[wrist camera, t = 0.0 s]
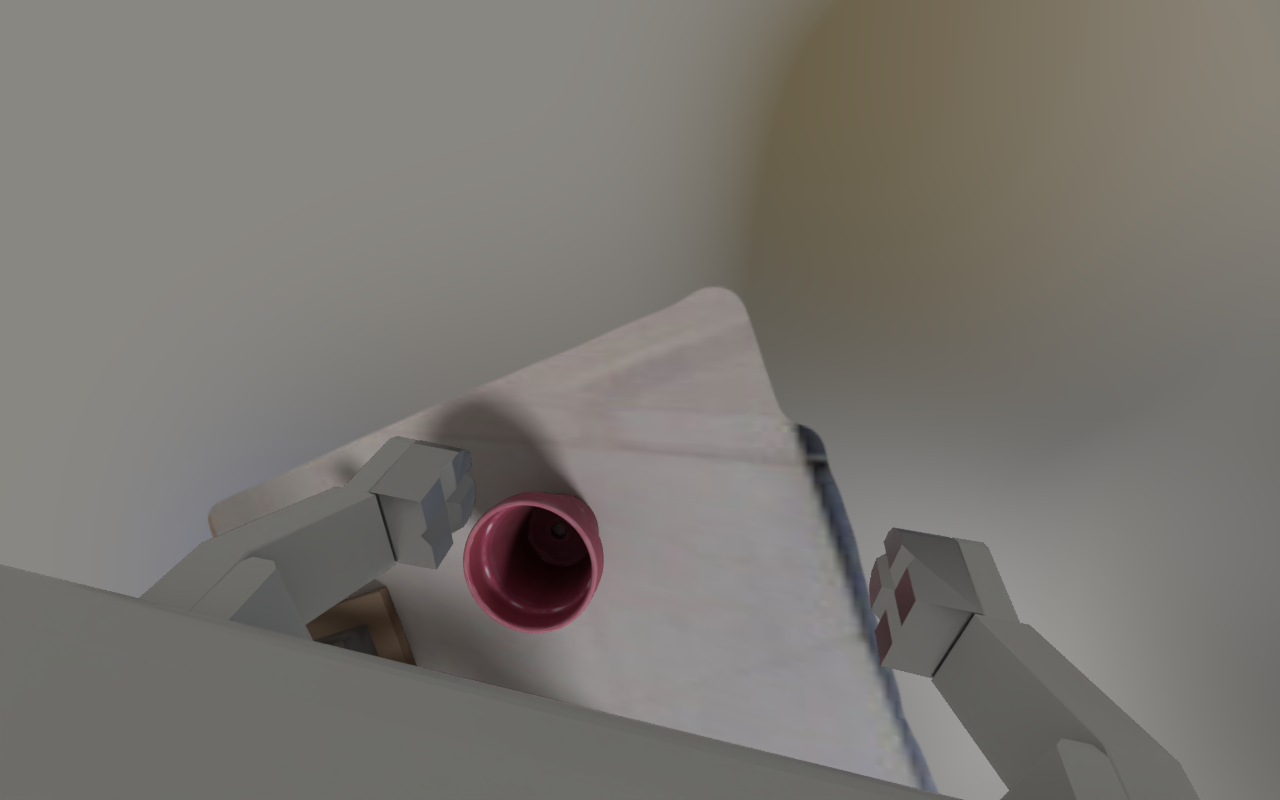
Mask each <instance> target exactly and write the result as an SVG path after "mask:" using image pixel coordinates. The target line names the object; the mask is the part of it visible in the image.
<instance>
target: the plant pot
mask: <svg viewBox="0 0 1280 800" xmlns="http://www.w3.org/2000/svg"><path fill="white" fill-rule="evenodd" d="M555 524H561V525H563V526H564V527H565V529H566V534H565V535H564V536H563V537H557V536H555V535H554V534H553V532H552V527H553V526H554V525H555ZM603 564H604V556H603V548H602V543H601V540H600V537H599V530H598V523H597V520H596V517H595V515H594V513H593V511H592V510H591V509H590V507H589V506H588V505H587V504H586V503H585V502H583V501H582V500H580V499H579V498H576V497H574V496H571V495H567V494H555V495H553V494H550V493H544V492H526V493H521V494H517V495H514V496H512V497H509V498H507V499H506V500H504V501H502V502H500V503H499V504H497V505H496V506H494V507H493V508H492V509H490V510H489V511H488V512H487V513H485V514H484V515H483V516H482V517H481V518H480V519H479V520H478V521H477V523H476V524H475V525H474V527H473V528H472V530H471V532H470V534H469V536H468V539H467V541H466V545H465V549H464V556H463V567H464V574H465V579H466V582H467V585H468V587H469V590H470V592H471V594H472V596H473V597H474V599H475V601H476V602H477V603H478V605H479V606H480V607H481V608H482V609H483V610H484V611H485V612H486V613H487V614H488V615H489V616H490V617H491V618H493V619H494V620H495V621H497V622H499V623H500V624H502V625H504V626H506V627H508V628H511V629H514V630H517V631H521V632H527V633H545V632H550V631H554V630H557V629H560V628H562V627H564V626H566V625H568V624H569V623H571V622H572V621H574V620H575V619H576V618H577V617H578V616H579V615H580V614H581V613H582V612H583V611H584V609H585V608H586V607H587V605H588V604H589V602H590V600H591V599H592V597H593V595H594V593H595V591H596V589H597V587H598V584H599V582H600V579H601V576H602V572H603Z"/></svg>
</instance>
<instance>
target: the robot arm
mask: <svg viewBox="0 0 1280 800" xmlns="http://www.w3.org/2000/svg"><path fill="white" fill-rule="evenodd" d="M471 466H472V463H471V458H470V453H469V452H468V451H466V450H464V449H460V448H455V447H450V446H446V445H441V444H436V443H431V442H426V441H422V440H420V441H418V440H414V439H409V438H405V437H400V436H396V437H394V438H391V439H389V440H388V441H387V442H386V443H385V444H384V445H383V447H382V448H381V449H380V450H379V451H378V452H377V453H376V454H375V455H374V456H373V457H372V458H371V459H370V460H369V461H368V462H367V463H366V464H365V465H364V466H363V467H362V468H361V469H360V470H359V471H358V472H357V474H356V475H355V476H354V477H353V478H352V479H351V480H350V481H349V482H348V483H347V484H346V485H345V486H344V487H343V488H341V487H333V488H331V489H329V490H326V491H324V492H321V493H319V494H317V495H314V496H312V497H310V498H307V499H305V500H302V501H300V502H298V503H295V504H293V505H290V506H288V507H286V508H283V509H281V510H279V511H276V512H274V513H271V514H269V515H267V516H264V517H262V518H259V519H257V520H255V521H252V522H250V523H248V524H245V525H243V526H240V527H238V528H236V529H233V530H231V531H228V532H226V533H224V534H221V535H219V536H217V537H214V538H212V539H209V540H207V541H205V542H202V543H201V544H200V545H199V546H197V547H196V548H195V549H194V550H193V551H192V552H191V553H190V554H188V555H187V556H186V557H185V558H184V559H183V560H182V561H180V562H179V563H178V564H177V565H176V566H175V567H174V568H173V569H171V570H170V571H169V572H168V573H167V574H166V575H165V576H163V577H162V578H161V579H160V580H159V581H158V582H157V583H156V584H154V585H153V586H152V587H151V588H150V589H149V590H148V591H146V592H145V593H144V594H143V595H142V596H141V597H140V598H135V597H131V596H127V595H123V594H119V593H115V592H111V591H107V590H102V589H99V588H94V587H90V586H86V585H82V584H78V583H74V582H70V581H66V580H62V579H58V578H54V577H50V576H45V575H41V574H37V573H33V572H29V571H25V570H21V569H17V568H13V567H9V566H5V565H0V800H962V799H958V798H954V797H950V796H946V795H942V794H937V793H933V792H929V791H925V790H921V789H917V788H913V787H909V786H905V785H901V784H897V783H892V782H888V781H884V780H880V779H876V778H872V777H868V776H864V775H860V774H856V773H851V772H847V771H843V770H839V769H835V768H831V767H827V766H823V765H819V764H815V763H810V762H806V761H802V760H798V759H794V758H790V757H786V756H782V755H778V754H774V753H769V752H765V751H761V750H757V749H753V748H749V747H745V746H741V745H737V744H733V743H728V742H724V741H720V740H716V739H712V738H708V737H704V736H700V735H696V734H692V733H688V732H684V731H679V730H675V729H671V728H667V727H663V726H659V725H655V724H651V723H647V722H643V721H639V720H635V719H630V718H626V717H622V716H618V715H614V714H610V713H606V712H602V711H598V710H594V709H590V708H586V707H581V706H577V705H573V704H569V703H565V702H561V701H557V700H553V699H549V698H545V697H541V696H536V695H532V694H528V693H524V692H520V691H516V690H512V689H508V688H504V687H500V686H496V685H491V684H487V683H483V682H479V681H475V680H471V679H467V678H463V677H459V676H455V675H451V674H447V673H442V672H438V671H434V670H430V669H426V668H422V667H418V666H414V665H410V664H406V663H402V662H397V661H393V660H389V659H385V658H381V657H377V656H373V655H369V654H365V653H361V652H357V651H352V650H348V649H344V648H340V647H336V646H332V645H328V644H324V643H320V642H316V641H313V639H312V637H311V635H310V633H309V631H308V629H307V627H306V624H308V623H309V622H311V621H312V620H314V619H315V618H317V617H318V616H320V615H321V614H322V613H324V612H325V611H327V610H328V609H330V608H331V607H333V606H334V605H336V604H337V603H339V602H340V601H342V600H343V599H345V598H346V597H348V596H349V595H351V594H352V593H354V592H355V591H357V590H358V589H360V588H361V587H363V586H364V585H366V584H367V583H369V582H370V581H372V580H373V579H375V578H376V577H378V576H379V575H381V574H382V573H384V572H385V571H387V570H388V569H390V568H391V567H393V566H394V565H395V564H396V563H395V562H399V563H404V564H409V565H415V566H420V567H426V568H431V569H436V570H437V568H438V566H439V565H440V563H441V562H442V560H443V559H444V557H445V556H446V554H447V552H448V551H449V549H450V548H451V546H452V545H453V539H452V534H451V533H453V532H455V531H457V530H459V529H461V528H462V527H464V526H465V524H466V522H467V521H468V519H469V517H470V516H471V513H472V510H473V507H474V504H475V496H476V489H475V482H474V481H473V479H472V478H471V477H470V476H469V475H468V474H467V472H468V470H469V469H470V467H471ZM884 545H885V549H886V554H884V555H882V556H880V557H879V558H877V559H876V561H875V564H874V567H873V569H872V572H871V578H870V585H869V593H870V603H871V610H872V611H873V612H874V613H875V614H876V615H877V617H878V618H879V619H880V622H879V624H878V626H877V628H876V630H875V635H876V641H877V647H878V653H879V658H880V664H881V666H884V667H888V668H892V669H896V670H900V671H904V672H909V673H913V674H917V675H921V676H925V677H929V678H933V679H932V682H933V683H934V685H935V686H936V688H937V689H938V690H939V692H940V693H941V695H942V696H943V697H944V699H945V700H946V702H947V703H948V704H949V706H950V707H951V709H952V710H953V712H954V713H955V714H956V716H957V717H958V719H959V720H960V722H961V723H962V724H963V726H964V727H965V729H966V730H967V731H968V733H969V734H970V736H971V737H972V738H973V740H974V741H975V743H976V744H977V745H978V747H979V748H980V750H981V751H982V753H983V754H984V755H985V757H986V758H987V760H988V761H989V762H990V764H991V765H992V767H993V768H994V769H995V771H996V772H997V774H998V775H999V777H1000V778H1001V779H1002V781H1003V782H1004V783H1005V785H1006V786H1007V788H1008V789H1009V791H1008V792H1007V794H1005V795H1004V796H1003V798H1002V799H1001V800H1200V799H1199V797H1198V795H1197V794H1196V792H1195V790H1194V788H1193V786H1192V785H1191V783H1190V781H1189V779H1188V777H1187V775H1186V773H1185V772H1184V770H1183V768H1182V766H1181V764H1180V763H1179V762H1178V761H1177V760H1176V759H1175V758H1174V757H1173V756H1172V755H1171V754H1170V753H1168V751H1166V750H1165V749H1164V748H1163V747H1162V746H1161V745H1160V744H1159V743H1158V742H1157V741H1156V740H1154V739H1153V738H1152V737H1151V736H1150V735H1149V734H1148V733H1147V732H1146V731H1145V730H1144V729H1143V728H1141V727H1140V726H1139V725H1138V724H1137V723H1136V722H1135V721H1134V720H1133V719H1132V718H1131V717H1129V716H1128V715H1127V714H1126V713H1125V712H1124V711H1123V710H1122V709H1121V708H1120V707H1119V706H1117V705H1116V704H1115V703H1114V702H1113V701H1112V700H1111V699H1110V698H1109V697H1108V696H1106V695H1105V694H1104V693H1103V692H1102V691H1101V690H1100V689H1099V688H1098V687H1097V686H1096V685H1095V684H1093V683H1092V682H1091V681H1090V680H1089V679H1088V678H1087V677H1086V676H1085V675H1084V674H1083V673H1081V672H1080V671H1079V670H1078V669H1077V668H1076V667H1075V666H1074V665H1073V664H1072V663H1071V662H1069V661H1068V660H1067V659H1066V658H1065V657H1064V656H1063V655H1062V654H1061V653H1060V652H1059V651H1058V650H1056V649H1055V648H1054V647H1053V646H1052V645H1051V644H1050V643H1049V642H1048V641H1047V640H1046V639H1044V638H1043V637H1042V636H1041V635H1040V634H1039V633H1038V632H1037V631H1036V630H1035V629H1034V628H1032V627H1031V626H1030V625H1028V624H1023V623H1020V622H1019V619H1018V617H1017V614H1016V612H1015V610H1014V607H1013V605H1012V602H1011V600H1010V598H1009V595H1008V593H1007V591H1006V588H1005V586H1004V583H1003V581H1002V579H1001V576H1000V574H999V572H998V569H997V567H996V565H995V562H994V560H993V557H992V555H991V553H990V550H989V548H988V547H987V546H986V545H985V544H984V543H982V542H976V541H970V540H965V539H959V538H950V537H945V536H940V535H934V534H928V533H922V532H916V531H910V530H905V529H899V528H892V529H891V530H890V531H889V532H888V534H887V537H886V539H885V541H884Z"/></svg>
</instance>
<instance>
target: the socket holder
mask: <svg viewBox="0 0 1280 800" xmlns="http://www.w3.org/2000/svg"><path fill="white" fill-rule="evenodd" d="M306 627H307V629H308V631H309V633H310V635H311V637H312V639H313V641H316V642H320V643H324V644H328V645H332V646H336V647H340V648H344V649H348V650H352V651H357V652H361V653H365V654H369V655H373V656H377V657H381V658H385V659H389V660H393V661H397V662H402V663H406V664H410V665H414V666H416V663H415V660H414V658H413V655H412V653H411V650H410V647H409V645H408V642H407V639H406V637H405V634H404V631H403V629H402V626H401V624H400V621H399V618H398V616H397V613H396V610H395V608H394V605H393V603H392V600H391V597H390V595H389V592H388V589H387V587H384V588H381V589H378V590H375V591H372V592H368V593H365V594H362V595H359V596H356V597H353V598H350V599H347V600H344V601H341V602H339V603H337V604H336V605H334V606H333V607H331V608H330V609H328V610H327V611H325V612H324V613H322V614H321V615H320V616H318V617H317V618H315V619H314V620H312V621H311V622H309V623H308V624H306Z"/></svg>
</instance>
